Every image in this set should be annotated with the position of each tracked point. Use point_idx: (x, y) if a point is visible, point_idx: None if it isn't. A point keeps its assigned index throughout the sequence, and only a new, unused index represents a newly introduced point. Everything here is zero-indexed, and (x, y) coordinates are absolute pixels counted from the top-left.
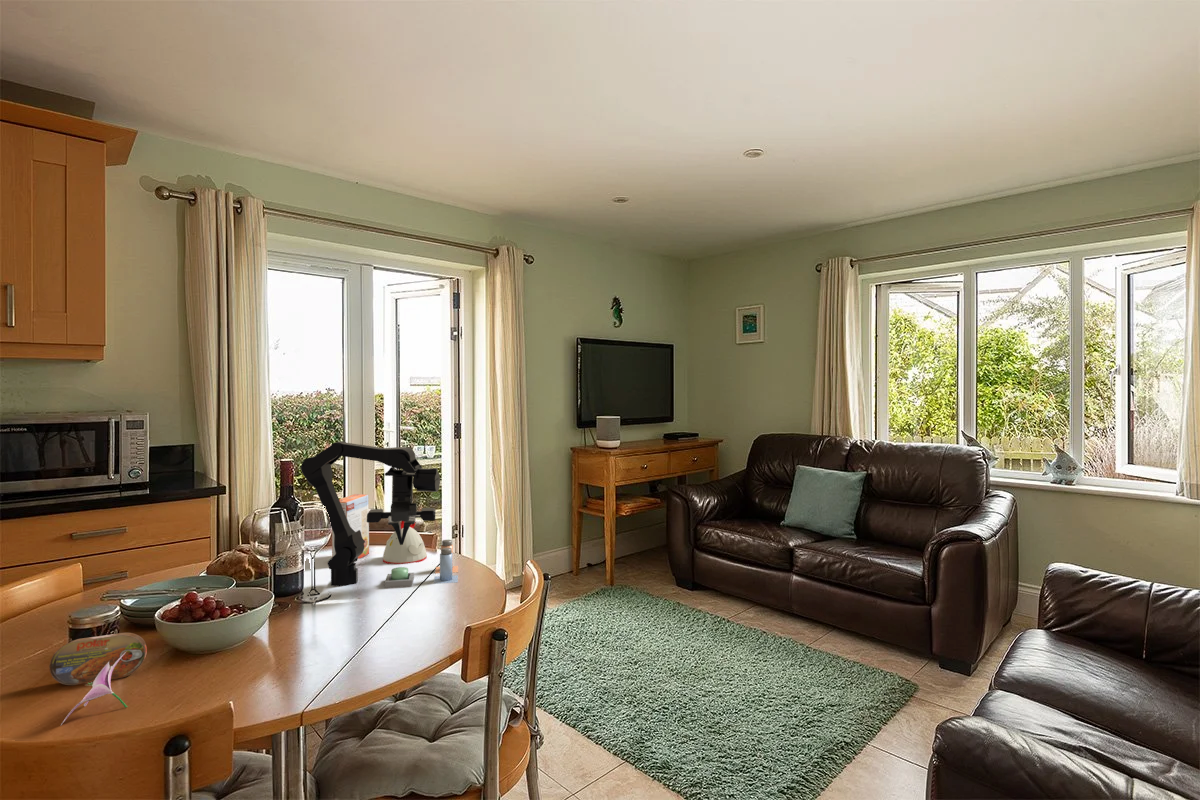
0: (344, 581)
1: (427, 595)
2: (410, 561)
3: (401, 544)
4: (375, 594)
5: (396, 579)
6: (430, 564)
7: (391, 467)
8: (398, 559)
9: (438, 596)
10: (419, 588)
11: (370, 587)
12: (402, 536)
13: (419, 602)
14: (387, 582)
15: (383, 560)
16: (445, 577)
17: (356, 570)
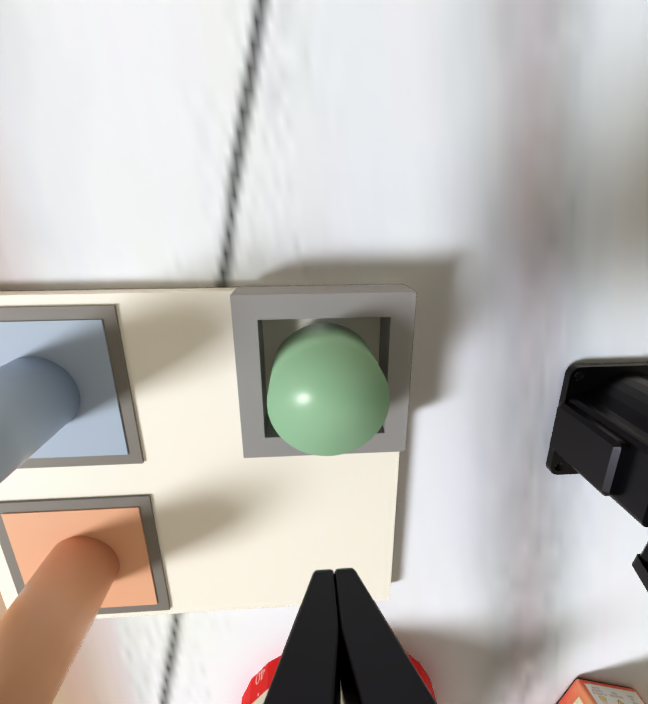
0: (642, 387)
1: (120, 167)
2: None
3: (333, 571)
4: (448, 252)
5: (341, 330)
6: (212, 668)
7: None
8: None
9: (36, 128)
10: None
11: (478, 380)
12: (326, 695)
13: (144, 11)
14: (396, 290)
15: (435, 700)
16: (14, 365)
17: (613, 454)
